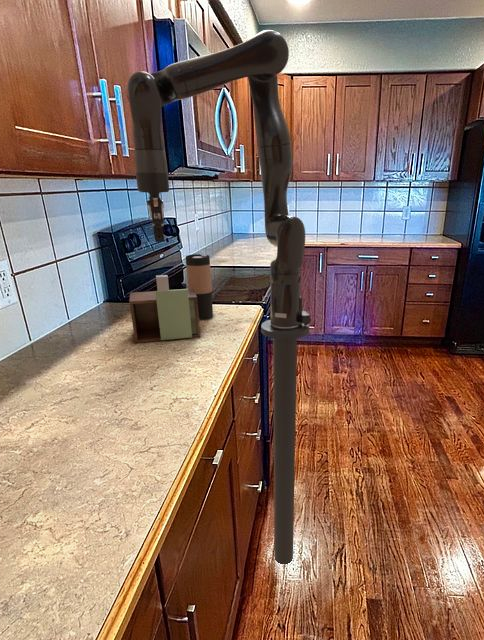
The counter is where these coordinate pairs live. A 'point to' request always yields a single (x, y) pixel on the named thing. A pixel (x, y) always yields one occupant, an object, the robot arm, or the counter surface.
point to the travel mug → (200, 283)
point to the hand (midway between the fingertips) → (159, 239)
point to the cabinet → (156, 316)
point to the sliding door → (172, 310)
